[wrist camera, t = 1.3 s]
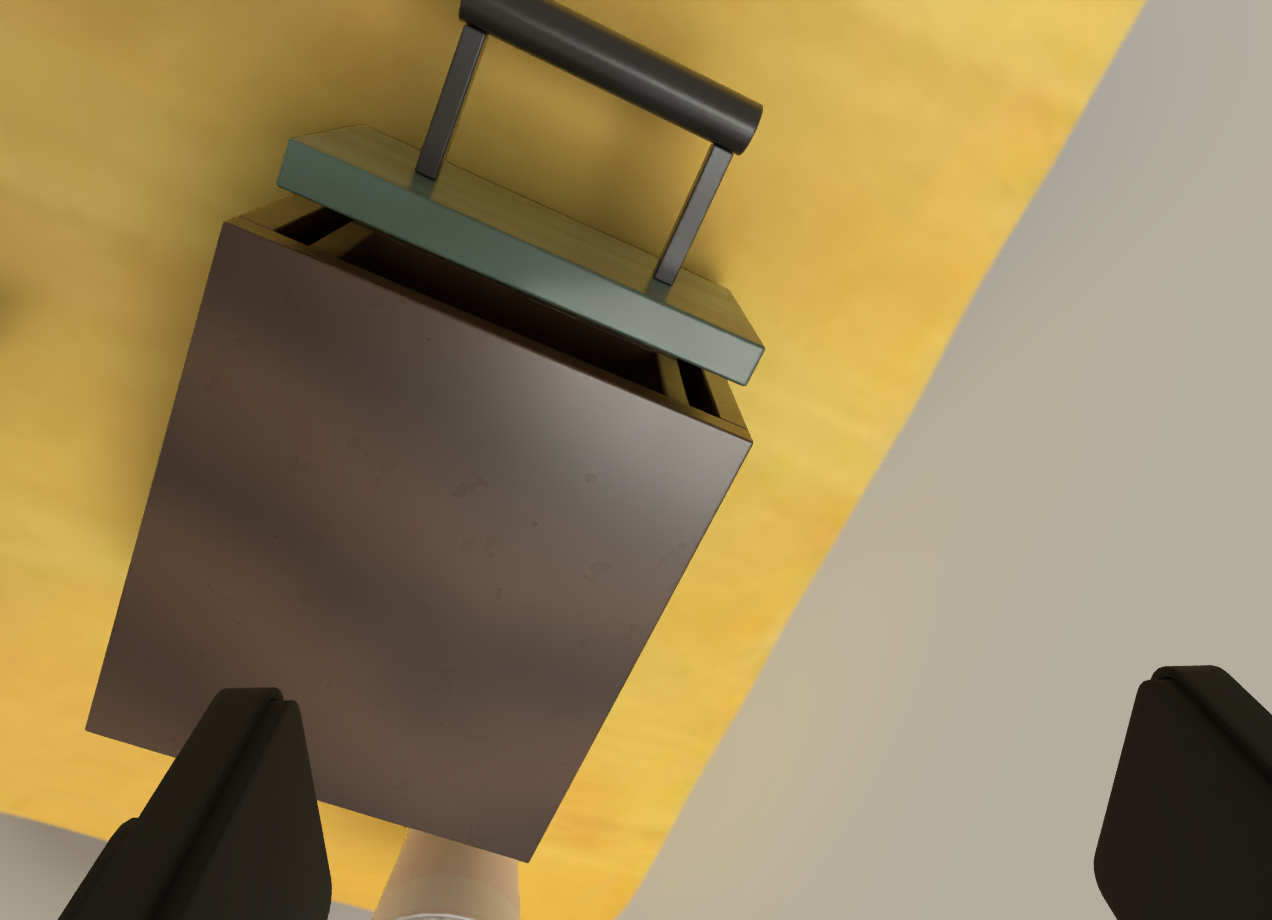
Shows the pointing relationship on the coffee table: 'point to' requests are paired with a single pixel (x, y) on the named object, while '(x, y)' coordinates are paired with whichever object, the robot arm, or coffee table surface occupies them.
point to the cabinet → (405, 537)
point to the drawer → (542, 212)
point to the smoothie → (449, 883)
